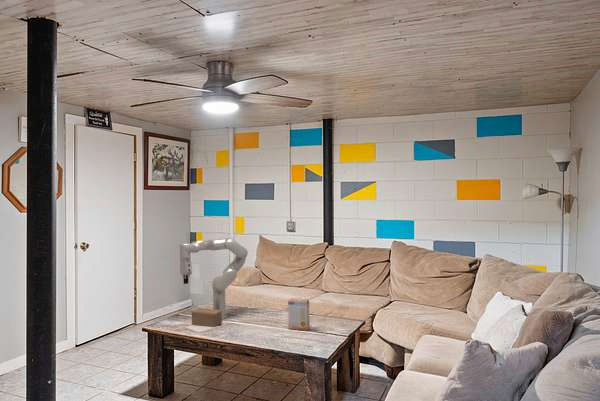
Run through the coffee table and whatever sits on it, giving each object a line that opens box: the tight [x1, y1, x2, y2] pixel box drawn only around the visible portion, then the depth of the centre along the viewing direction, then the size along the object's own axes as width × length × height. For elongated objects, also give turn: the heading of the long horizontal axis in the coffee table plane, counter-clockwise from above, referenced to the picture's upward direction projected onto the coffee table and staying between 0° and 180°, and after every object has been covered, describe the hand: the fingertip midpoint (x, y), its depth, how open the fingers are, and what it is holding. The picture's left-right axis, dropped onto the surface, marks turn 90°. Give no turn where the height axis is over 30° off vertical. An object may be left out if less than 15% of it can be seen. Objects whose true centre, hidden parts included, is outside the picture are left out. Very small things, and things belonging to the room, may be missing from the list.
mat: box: [184, 324, 221, 334], centre depth 314 cm, size 18×18×1 cm
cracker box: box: [287, 298, 311, 332], centre depth 308 cm, size 14×6×21 cm, turn 71°
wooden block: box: [191, 307, 223, 327], centre depth 320 cm, size 10×10×20 cm
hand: (186, 283), depth 332 cm, fingers closed
